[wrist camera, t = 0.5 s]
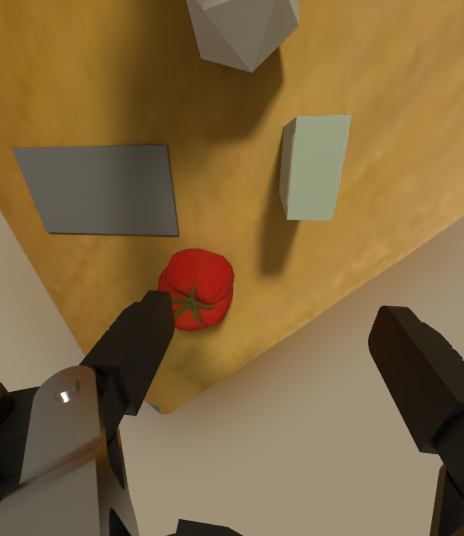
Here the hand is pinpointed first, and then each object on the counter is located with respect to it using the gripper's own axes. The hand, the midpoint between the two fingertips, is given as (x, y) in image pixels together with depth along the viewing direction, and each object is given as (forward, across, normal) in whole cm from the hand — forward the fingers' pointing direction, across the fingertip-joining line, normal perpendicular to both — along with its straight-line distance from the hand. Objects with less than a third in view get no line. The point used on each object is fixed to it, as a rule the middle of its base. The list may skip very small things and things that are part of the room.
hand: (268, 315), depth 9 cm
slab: (+22, -3, -4) cm, 23 cm away
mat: (+22, +22, 0) cm, 31 cm away
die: (+23, +3, -16) cm, 28 cm away
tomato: (+22, +8, +11) cm, 26 cm away
